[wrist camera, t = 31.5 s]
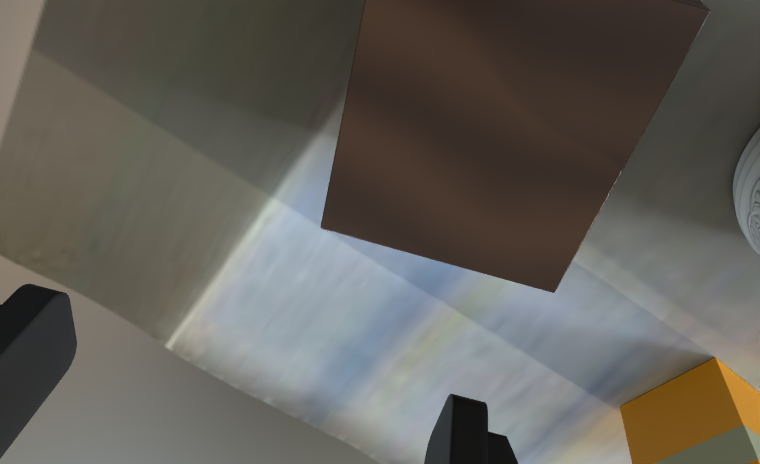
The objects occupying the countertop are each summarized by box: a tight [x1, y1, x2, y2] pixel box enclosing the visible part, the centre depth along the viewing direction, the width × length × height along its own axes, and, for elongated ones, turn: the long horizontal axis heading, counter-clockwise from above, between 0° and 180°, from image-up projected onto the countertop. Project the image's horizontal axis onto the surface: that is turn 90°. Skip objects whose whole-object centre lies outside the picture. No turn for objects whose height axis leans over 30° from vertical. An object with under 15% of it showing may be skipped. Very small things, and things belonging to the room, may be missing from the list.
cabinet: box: [321, 0, 711, 293], centre depth 29 cm, size 15×13×10 cm
